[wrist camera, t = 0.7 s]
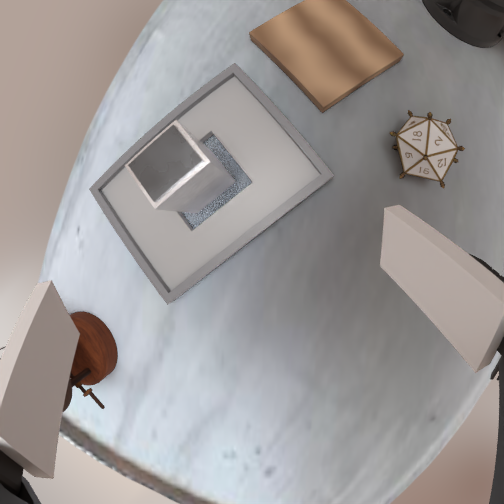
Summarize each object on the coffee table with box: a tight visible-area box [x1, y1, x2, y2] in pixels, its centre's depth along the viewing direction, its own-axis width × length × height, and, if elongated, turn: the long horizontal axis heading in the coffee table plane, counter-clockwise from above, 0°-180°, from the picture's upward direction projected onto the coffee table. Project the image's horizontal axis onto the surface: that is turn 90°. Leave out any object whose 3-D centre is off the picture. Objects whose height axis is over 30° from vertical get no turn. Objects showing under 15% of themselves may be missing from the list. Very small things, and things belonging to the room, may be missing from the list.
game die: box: [390, 110, 465, 188], centre depth 31 cm, size 9×8×10 cm
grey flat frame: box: [89, 63, 334, 305], centre depth 37 cm, size 24×18×2 cm
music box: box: [0, 312, 117, 412], centre depth 33 cm, size 15×11×20 cm
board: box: [249, 0, 404, 113], centre depth 34 cm, size 14×14×2 cm
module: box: [125, 120, 236, 214], centre depth 32 cm, size 6×5×13 cm
